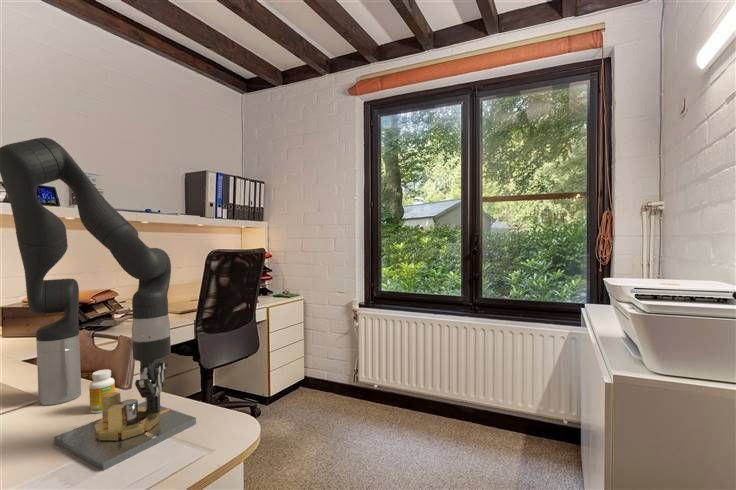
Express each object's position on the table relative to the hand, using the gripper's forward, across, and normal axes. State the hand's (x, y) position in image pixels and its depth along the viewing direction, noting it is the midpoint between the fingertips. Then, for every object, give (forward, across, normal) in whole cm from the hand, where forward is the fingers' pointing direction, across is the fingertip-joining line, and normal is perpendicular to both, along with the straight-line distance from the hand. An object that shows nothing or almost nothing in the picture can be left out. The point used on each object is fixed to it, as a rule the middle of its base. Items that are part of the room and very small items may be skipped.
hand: (154, 411), depth 86 cm
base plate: (+5, +1, +6) cm, 7 cm away
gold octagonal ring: (+3, +1, +6) cm, 7 cm away
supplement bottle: (+5, +16, +18) cm, 24 cm away
